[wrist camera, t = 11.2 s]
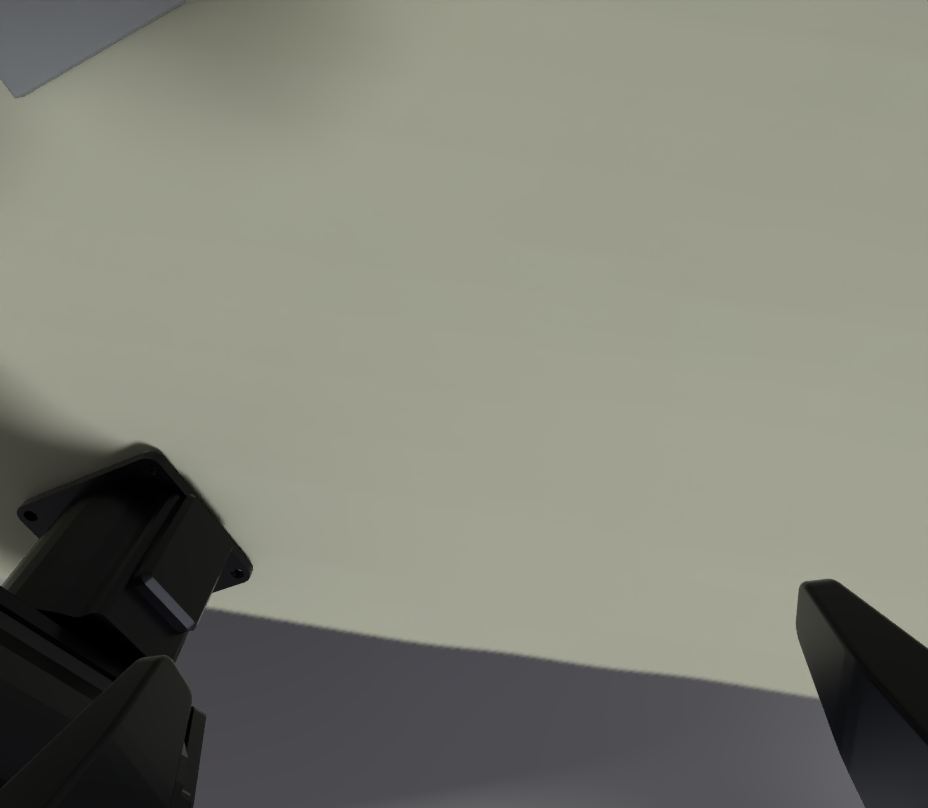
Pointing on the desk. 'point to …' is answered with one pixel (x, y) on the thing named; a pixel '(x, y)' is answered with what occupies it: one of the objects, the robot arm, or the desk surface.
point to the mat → (64, 35)
